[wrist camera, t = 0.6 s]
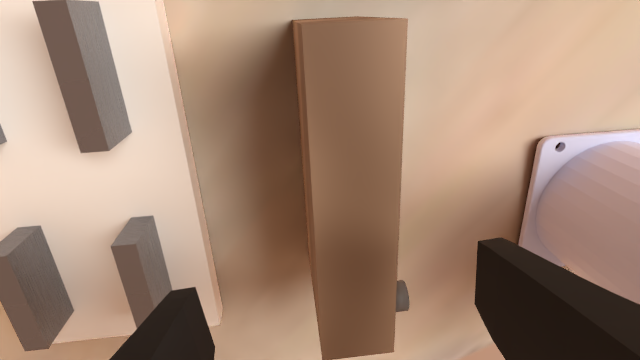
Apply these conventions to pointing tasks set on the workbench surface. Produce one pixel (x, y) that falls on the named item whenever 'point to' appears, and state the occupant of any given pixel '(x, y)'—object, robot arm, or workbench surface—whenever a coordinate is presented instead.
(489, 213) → the workbench surface
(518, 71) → the workbench surface
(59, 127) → the cabinet panel
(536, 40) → the workbench surface
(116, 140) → the hinge clips
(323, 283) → the brown wooden block
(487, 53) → the workbench surface
